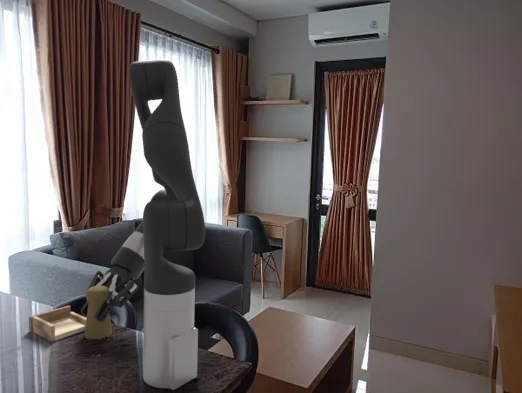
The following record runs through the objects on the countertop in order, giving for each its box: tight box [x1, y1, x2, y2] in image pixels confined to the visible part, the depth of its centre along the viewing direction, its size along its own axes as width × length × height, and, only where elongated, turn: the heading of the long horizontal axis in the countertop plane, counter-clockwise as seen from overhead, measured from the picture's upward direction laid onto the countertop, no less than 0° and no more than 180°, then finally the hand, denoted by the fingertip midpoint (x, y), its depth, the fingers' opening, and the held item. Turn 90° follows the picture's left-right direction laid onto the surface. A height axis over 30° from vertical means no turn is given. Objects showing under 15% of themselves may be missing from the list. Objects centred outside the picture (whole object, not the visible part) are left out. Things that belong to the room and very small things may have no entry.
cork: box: [84, 286, 113, 340], centre depth 98 cm, size 6×6×11 cm
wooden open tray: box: [28, 305, 87, 343], centre depth 100 cm, size 9×10×4 cm
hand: (90, 316), depth 96 cm, fingers closed on cork, 4 cm apart
